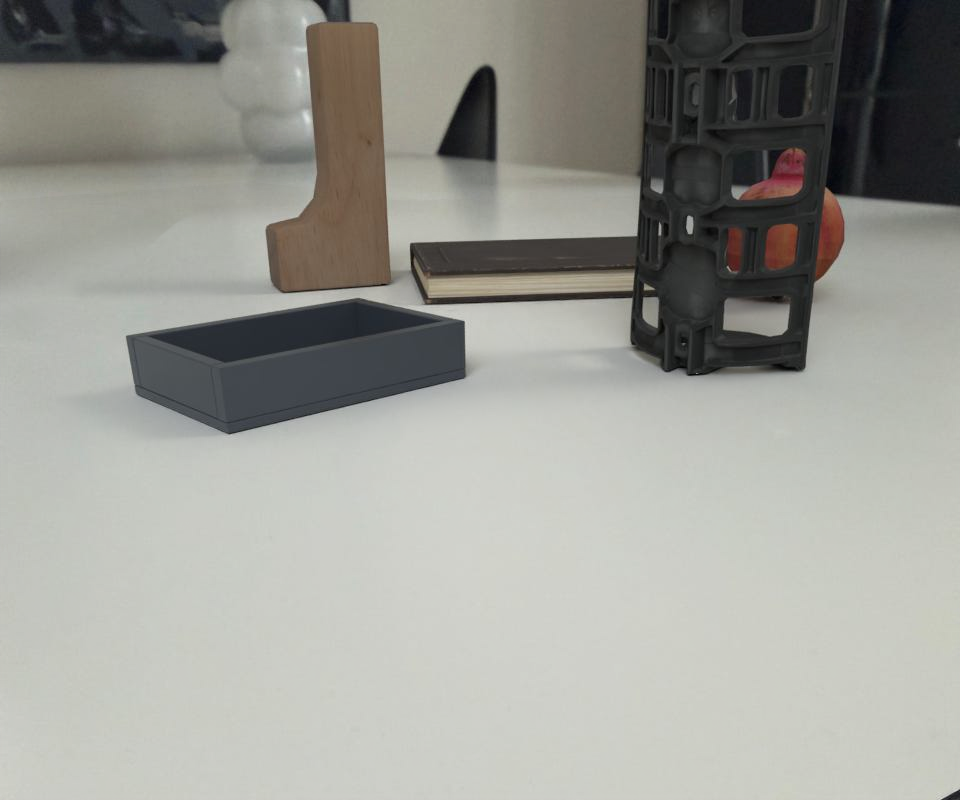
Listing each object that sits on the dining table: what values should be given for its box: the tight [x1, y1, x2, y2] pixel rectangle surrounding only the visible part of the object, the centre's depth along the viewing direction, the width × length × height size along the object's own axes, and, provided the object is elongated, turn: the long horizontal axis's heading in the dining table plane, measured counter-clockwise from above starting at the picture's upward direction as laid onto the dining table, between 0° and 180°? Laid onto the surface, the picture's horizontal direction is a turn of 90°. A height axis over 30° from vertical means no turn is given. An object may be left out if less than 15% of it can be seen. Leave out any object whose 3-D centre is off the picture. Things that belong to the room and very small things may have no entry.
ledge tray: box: [125, 297, 467, 434], centre depth 53 cm, size 10×15×3 cm, turn 132°
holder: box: [629, 0, 848, 375], centre depth 52 cm, size 11×8×20 cm
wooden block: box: [265, 21, 392, 293], centre depth 77 cm, size 9×4×18 cm, turn 111°
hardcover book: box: [409, 234, 728, 305], centre depth 81 cm, size 16×23×2 cm
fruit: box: [727, 148, 845, 302], centre depth 71 cm, size 8×8×10 cm
